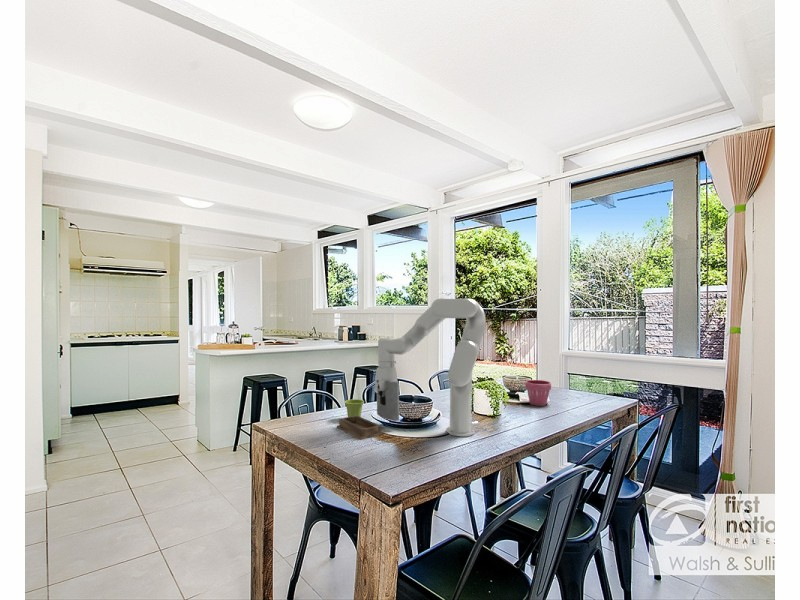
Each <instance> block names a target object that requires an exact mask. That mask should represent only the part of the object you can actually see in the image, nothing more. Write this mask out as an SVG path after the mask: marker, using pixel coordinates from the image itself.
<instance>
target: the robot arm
mask: <svg viewBox="0 0 800 600" xmlns="http://www.w3.org/2000/svg"><path fill="white" fill-rule="evenodd" d="M424 311H425V312H424V313H422V314H421V315H420V316H419V317H418V318H417V319H416V320H415V322H414V324H413V326H411V328H410V329H409V330H408V331H407V332H405V334H404V335H403V336H402V337H397V338H396V339H395V338H392V337H382V338H381V337H380V338H379V339H378V341H377V349H378V351H377V354H378V358H377V362H378V367H377V368H376V371H375V380H374V389H373V392H375V393H376V394H377V393H378V394H379V396H380V403H381V405H385V396H384V394H385V390H386V381H389V380H394V381H398V374H397V373H398V372H397V368H396V364H397V362H396V360H395V355H399V356H400V355H401V356H402V355H405V354H407V353H408V352H411V350H412V349H413V348H414V347H416V346H417V345H418V344H419V343H420V342H421V341H422V340H423V339H424V338H425V337H427V336H428V335H429V334H430V333H431V332H432V331H433V330H435V329H436V328H437V326H439V325H440V324H441V323H442V322H444V320H445V319H466V322H465V326H464V328H463V333H462V335H461V339H460V341H459V342H458V344H457V345H456V347H455V349H454V353H453V355H452V359H451V363H450V366H449V367H448V368H449V369H448V371H447V379H448V381H449V383H450V384H449V385H450V387H449V391H450V393H449V426H448V427H446V428H445V432H446V431H447V432H448V433H449V434H448V433H447V432H446V433H447V434H448V435H450V436H455V437H470V436H473V435H474V434H475V429H474V427H476V426H478V425H479V422H478V421H477V420H475V421H472V392H473V391H472V389H473V387H472V386H473V370H474V367H475V364H476V361H477V357H478V356H479V352H480V350H479V349H480V346H481V343H482V338H483V336H484V331H485V328H486V313H485V311H484V309H483V307H482V306H481V305H480V303H478V302H477V301H476V300H475V299H473V298H443V297H442V298H441V297H440V298H436V299H435V300H434V301H433V302H432V303H431V305H430V307H428V309H426V310H424ZM378 389H380V390H378Z"/></svg>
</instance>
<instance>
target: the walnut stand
mask: <svg viewBox="0 0 800 600" xmlns="http://www.w3.org/2000/svg"><path fill="white" fill-rule="evenodd" d="M338 419H339V421H338V424H339V425H336V428H337V429H338V430H340V431H342V432H344V433H346V434H348V435H349V436H352V437H354V438H355V439H357V440H365V439H369V438H375V437H379V436H384V432H383V431H382V425H380V424H377V423H375V422H373V421H370V420H369V419H366V418H364V417H362V416H361V417H359V416H352V417H348V416H346V417H342V418H338Z"/></svg>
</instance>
